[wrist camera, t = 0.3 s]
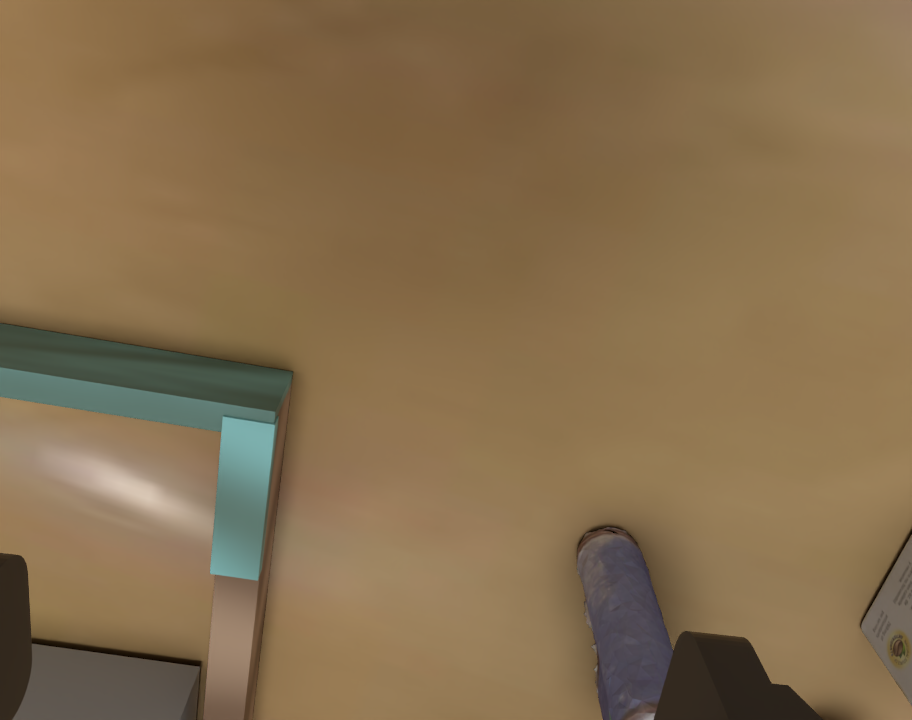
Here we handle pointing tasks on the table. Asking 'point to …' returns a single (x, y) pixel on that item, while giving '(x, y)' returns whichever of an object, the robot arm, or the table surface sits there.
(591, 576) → the flask
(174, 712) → the grey storage bin
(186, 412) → the bar
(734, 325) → the table surface
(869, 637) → the coffee box
